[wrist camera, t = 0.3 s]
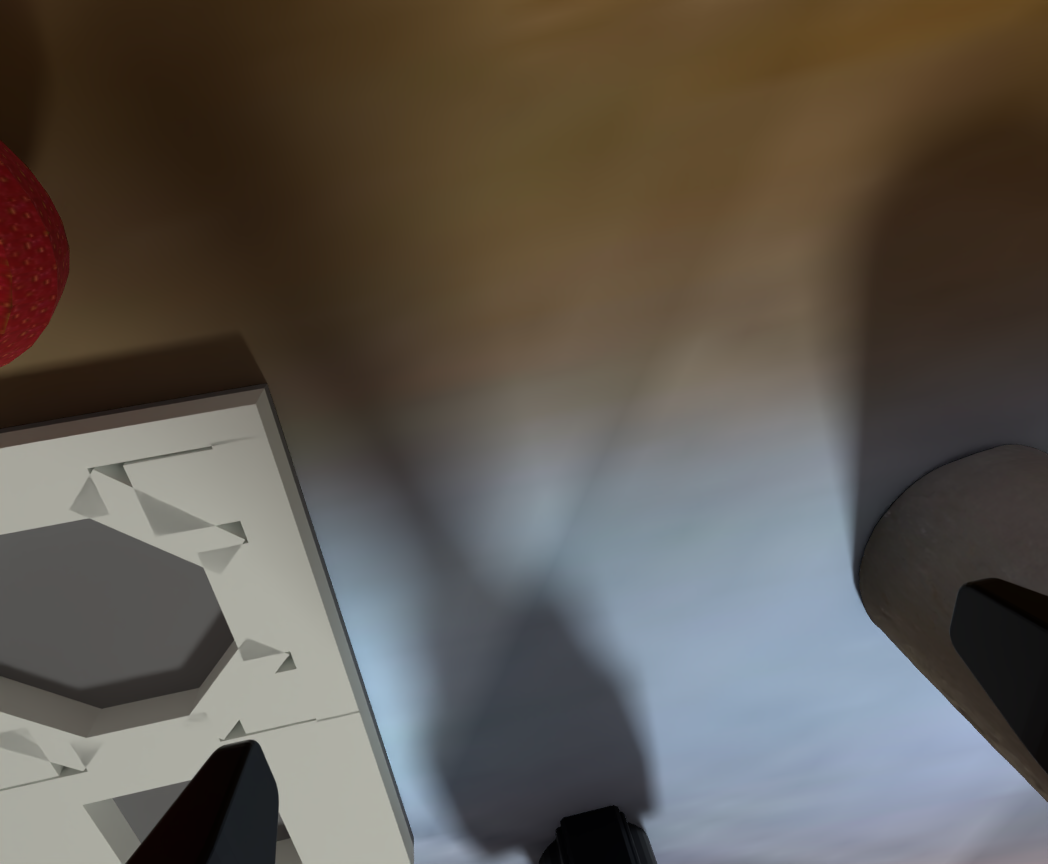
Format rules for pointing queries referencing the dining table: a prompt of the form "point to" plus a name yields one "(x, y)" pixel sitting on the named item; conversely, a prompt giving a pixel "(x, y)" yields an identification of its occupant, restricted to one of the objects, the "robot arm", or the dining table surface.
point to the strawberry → (27, 257)
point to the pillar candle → (960, 571)
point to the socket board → (174, 637)
